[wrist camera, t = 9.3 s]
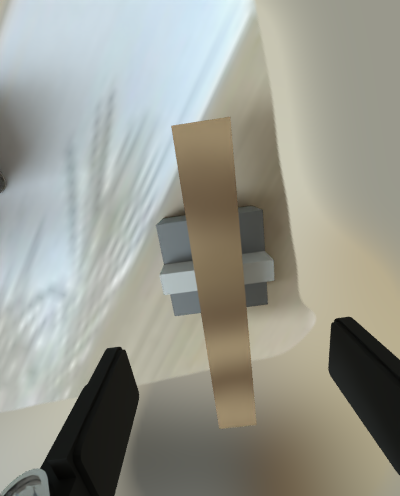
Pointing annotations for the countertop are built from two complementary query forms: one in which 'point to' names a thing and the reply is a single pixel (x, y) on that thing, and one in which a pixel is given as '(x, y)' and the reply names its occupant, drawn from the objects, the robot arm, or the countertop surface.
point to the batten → (217, 262)
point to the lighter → (2, 182)
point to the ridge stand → (182, 269)
